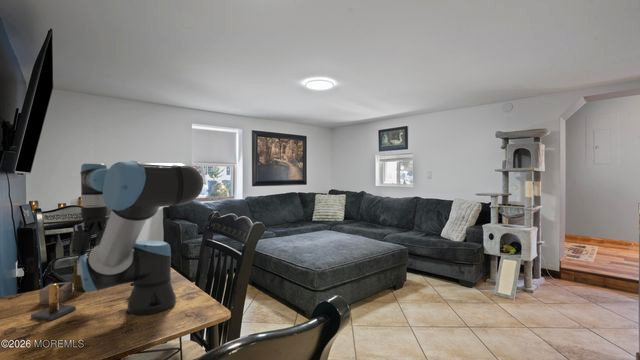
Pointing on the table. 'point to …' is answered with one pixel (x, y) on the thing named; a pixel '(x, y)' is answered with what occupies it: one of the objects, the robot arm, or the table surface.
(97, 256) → the robot arm
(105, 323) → the table surface
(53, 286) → the keeper
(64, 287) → the link
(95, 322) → the table surface
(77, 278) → the condiment
